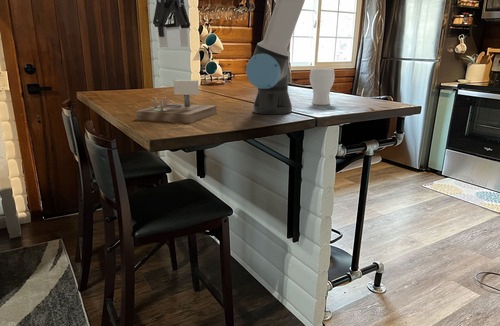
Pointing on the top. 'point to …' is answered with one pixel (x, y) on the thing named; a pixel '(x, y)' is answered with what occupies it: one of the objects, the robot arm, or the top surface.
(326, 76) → the cup
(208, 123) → the top surface
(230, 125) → the top surface
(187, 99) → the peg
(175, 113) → the board
